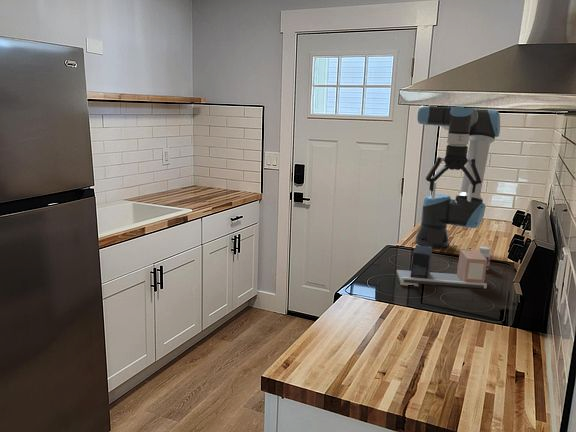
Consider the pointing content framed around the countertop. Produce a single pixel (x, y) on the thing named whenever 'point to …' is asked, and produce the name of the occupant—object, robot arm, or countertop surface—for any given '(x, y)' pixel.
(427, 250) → the small box
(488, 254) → the pill bottle
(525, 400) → the countertop surface
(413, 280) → the shelf
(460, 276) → the faced carton
